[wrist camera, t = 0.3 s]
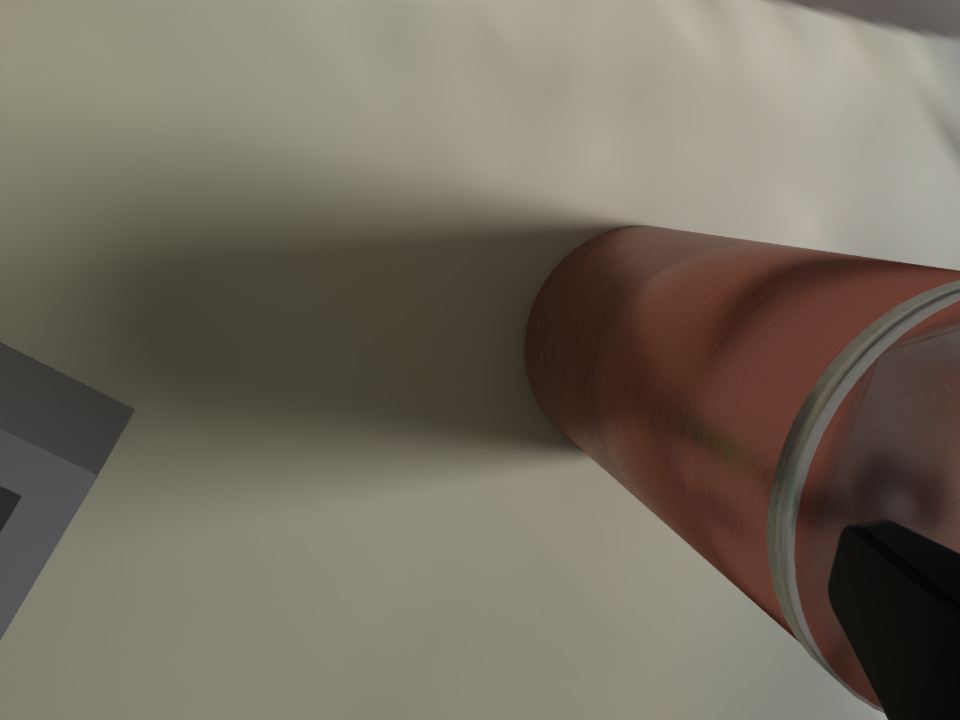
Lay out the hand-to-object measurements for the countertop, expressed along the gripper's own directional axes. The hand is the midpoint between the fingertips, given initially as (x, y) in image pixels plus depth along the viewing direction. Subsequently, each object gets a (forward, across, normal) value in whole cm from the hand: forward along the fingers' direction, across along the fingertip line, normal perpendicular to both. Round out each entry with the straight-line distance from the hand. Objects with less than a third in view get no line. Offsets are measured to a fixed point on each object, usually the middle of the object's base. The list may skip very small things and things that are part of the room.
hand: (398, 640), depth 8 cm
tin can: (+14, -9, +6) cm, 18 cm away
